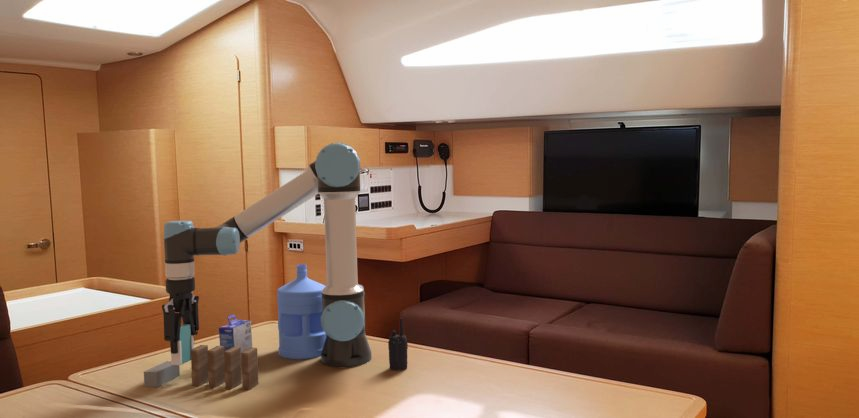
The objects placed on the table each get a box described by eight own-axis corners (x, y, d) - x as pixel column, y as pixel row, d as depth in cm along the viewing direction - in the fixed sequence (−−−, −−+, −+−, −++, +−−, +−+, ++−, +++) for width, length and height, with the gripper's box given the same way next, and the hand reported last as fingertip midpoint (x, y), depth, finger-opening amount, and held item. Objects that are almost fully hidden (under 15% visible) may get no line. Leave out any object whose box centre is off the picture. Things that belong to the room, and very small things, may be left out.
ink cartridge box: (238, 357, 204) (236, 311, 203) (253, 359, 203) (252, 312, 202) (219, 367, 195) (217, 319, 194) (235, 368, 193) (234, 319, 192)
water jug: (276, 349, 213) (274, 263, 211) (325, 344, 217) (323, 260, 215) (281, 363, 198) (277, 270, 196) (333, 357, 202) (330, 267, 201)
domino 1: (209, 380, 182) (207, 345, 182) (198, 386, 178) (197, 350, 177) (202, 380, 183) (201, 344, 182) (192, 386, 178) (190, 349, 177)
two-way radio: (408, 368, 191) (407, 316, 190) (406, 372, 186) (405, 320, 185) (389, 367, 191) (388, 316, 190) (387, 372, 187) (386, 320, 186)
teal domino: (191, 359, 183) (190, 324, 183) (180, 365, 178) (179, 328, 178) (185, 359, 184) (184, 323, 183) (174, 364, 179) (173, 328, 178)
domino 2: (225, 381, 181) (224, 346, 181) (215, 387, 176) (213, 351, 176) (218, 381, 182) (217, 345, 181) (208, 387, 177) (207, 350, 176)
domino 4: (258, 384, 179) (257, 347, 178) (249, 390, 174) (247, 352, 173) (251, 383, 179) (250, 347, 179) (242, 389, 174) (241, 352, 174)
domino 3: (241, 382, 180) (240, 346, 179) (232, 389, 175) (230, 352, 175) (235, 382, 181) (233, 346, 180) (225, 388, 176) (223, 351, 175)
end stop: (179, 375, 188) (179, 361, 187) (157, 387, 178) (156, 372, 178) (167, 374, 188) (166, 361, 188) (144, 386, 179) (143, 371, 179)
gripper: (187, 271, 189) (190, 351, 191) (146, 282, 172) (149, 370, 173) (210, 272, 187) (213, 353, 189) (171, 283, 170) (175, 372, 171)
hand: (183, 361), depth 181 cm, fingers closed on teal domino, 5 cm apart
